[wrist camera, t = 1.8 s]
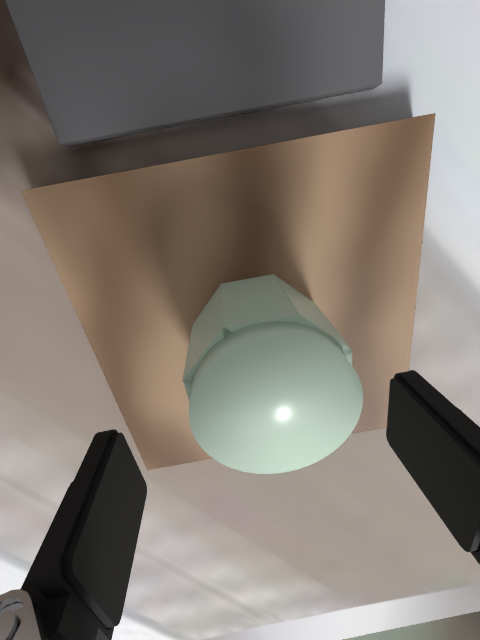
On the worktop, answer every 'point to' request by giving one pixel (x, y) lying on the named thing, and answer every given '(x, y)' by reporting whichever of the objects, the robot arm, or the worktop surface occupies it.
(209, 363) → the cap
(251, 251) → the post stand
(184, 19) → the mat
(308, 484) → the worktop surface
